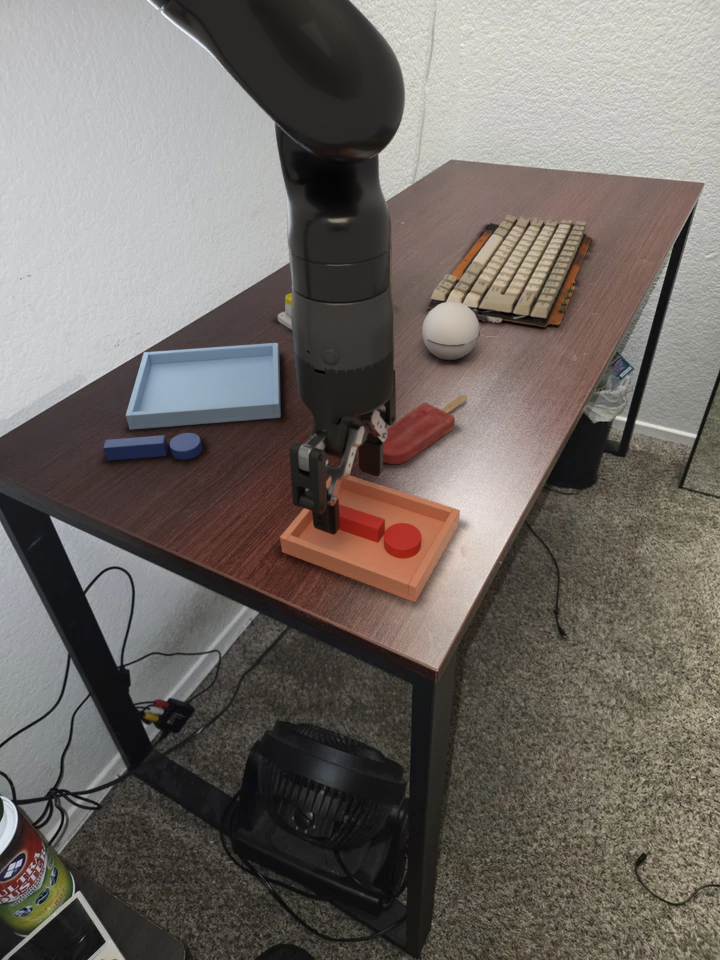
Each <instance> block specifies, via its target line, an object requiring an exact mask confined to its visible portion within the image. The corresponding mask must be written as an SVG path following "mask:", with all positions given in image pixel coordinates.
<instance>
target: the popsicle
mask: <svg viewBox="0 0 720 960" xmlns="http://www.w3.org/2000/svg"><path fill="white" fill-rule="evenodd" d="M467 400H468V395H466V394H460V395H459V396H458V397H456V398H455V399H453V400H451V402H449V403H448V404H447V405H444V407H443V408H441V409H440V408H438V407H436V406H434V405H432V404H431V403H427V402H422V403H421V404H419V405H418V406H417V407H415V408H414V409H412V410H411V411H410V412H409V413H408V414H406V415H405V416H403V417H402V418H401V419H400V420H398V421H397V422H394V424H393V425H392V426H390V427H388V428H386V429H387V431H388V433H387V438H386V440H385V441H384V442H383V464H388V465H401V464H404V463H407V462H408V461H410V460H411V459H412V458H414V457H416V456H418V454H420V453H421V452H423V451H424V450H425V449H427V448H428V447H430V446H431V445H433V444H434V443H436V442H437V441H439V440H440V439H441V438H443V437H444V436H446V435H447V434H448V433H450V432H451V431H453V430H454V429H455V421H456V417H455V416H454V415H453V414H451V412H452V411H454V410H455V409H456V408H457V407H459V406H460V405H462V404H463V403H464V402H466V401H467Z"/></svg>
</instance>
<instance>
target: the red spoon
mask: <svg viewBox="0 0 720 960" xmlns="http://www.w3.org/2000/svg"><path fill="white" fill-rule="evenodd" d="M339 515H340V529H339V530H342V531H345V532H348V533H351V534H353V535H356V536H359V537H362V538H365V539H368V540H371V541H374V542H377V543H378V542H379V541H380V539H381V538H382V536H383V535H384V548H385V550H386V551H387V553H388V554H390V555H391V556H393V557H396V558H402V559H403V558H410V557H413V556H414V555H416V554H417V553H418V552H419V551H420V548H421V533H420V531H419V530H418V528H416V527H415V526H413V525H411V524H408V523H397V524H394V525H391V526H390V527H388V528H387V529H386V531H385V519H383V518H380V517H377V516H374V515H371V514H368V513H364V512H361V511H358V510H355V509H352V508H349V507H346V506H343V505H340V504H339Z"/></svg>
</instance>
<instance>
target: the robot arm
mask: <svg viewBox="0 0 720 960" xmlns="http://www.w3.org/2000/svg"><path fill="white" fill-rule="evenodd" d="M146 1H147V2H148V3H149V4H150V5H151V6H152V7H154V8H155V9H156V10H157V11H159V10H160V14H161V15H163V17H165V19H167V20H168V21H169V22H170V23H172V24H173V26H175V27H176V28H178V29H179V30H180V31H181V32H183V33H185V35H187V36H188V37H190V38H191V39H192V40H193V41H194V42H196V43H197V44H198V45H199V46H200V47H202V48H203V49H204V50H205V51H207V52H208V53H209V54H210V55H211V56H212V58H214V60H215V61H217V63H219V65H220V66H221V67H222V68H223V69H224V71H225V72H226V73H227V74H228V75H229V76H230V77H231V78H232V79H233V81H235V82H236V84H237V85H238V86H239V87H240V88H241V89H242V90H243V91H244V92H245V93H246V94H247V95H248V97H250V98H251V99H252V100H253V102H254V103H255V104H256V105H257V106H258V107H259V108H260V109H261V110H262V111H263V112H264V113H265V114H266V115H267V117H269V118H270V119H271V120H272V124H273V130H274V137H275V143H276V148H277V155H278V161H279V166H280V172H281V178H282V182H283V188H284V194H285V201H286V202H285V203H286V221H287V222H286V225H287V227H286V229H287V233H286V234H287V247H288V259H289V268H290V269H289V270H290V281H291V282H290V283H291V293H292V301H291V322H292V330H291V331H292V341H293V351H294V362H295V372H296V384H297V393H298V395H299V396H298V397H299V399H300V400H301V401H302V403H304V405H305V406H306V407H307V409H308V410H309V411H310V413H311V414H312V416H313V421H312V428H311V435H310V436H311V437H310V438H309V439H308V440H307V441H306V442H305V443H302V442H298V441H293V442H292V444H291V445H290V447H289V466H290V478H291V479H290V480H291V492H292V493H291V495H292V504H293V506H295V507H298V508H303V509H304V508H305V509H308V510H311V511H312V515H313V526H314V527H315V528H316V529H319V530H321V531H324V532H327V533H330V534H333V535H334V534H336V533H337V531H338V530H339V529H340V515H339V499H338V495H339V491H340V487H341V484H342V481H343V479H346V478H348V477H349V475H350V476H351V472H352V468H353V464H354V461H355V456H356V455H357V454H356V453H357V451H358V469H359V470H360V471H361V473H364V474H367V475H370V476H374V477H379V476H380V475H381V474H382V472H383V471H384V462H383V442H384V441H385V440H386V438H387V433H388V431H387V429H388V428H387V427H388V426H390V427H391V426H393V425H394V424H395V423H396V420H397V400H396V398H397V395H396V394H397V393H396V370H395V369H394V365H395V364H394V363H395V362H394V361H395V359H394V358H395V357H394V356H395V355H394V354H395V306H394V297H393V290H392V262H393V261H392V260H393V259H392V257H393V255H392V253H393V251H392V250H393V248H392V247H393V245H392V243H393V241H392V240H393V239H392V235H393V234H392V220H391V213H390V209H389V206H388V203H387V201H386V198H385V195H384V193H383V190H382V186H381V179H380V160H379V159H380V158H379V154H381V153H382V152H383V151H385V149H386V148H387V147H388V145H389V144H390V143H391V142H392V141H393V139H394V137H395V136H396V135H397V132H398V131H399V128H400V126H401V123H402V120H403V116H404V111H405V104H406V89H405V88H406V86H405V80H404V79H405V78H404V75H403V70H402V68H401V65H400V62H399V60H398V57H397V55H396V53H395V51H394V50H393V48H392V47H391V45H390V43H389V42H388V41H387V39H386V38H385V37H384V36H383V34H382V33H381V32H380V31H379V30H378V29H377V27H376V26H375V25H374V24H373V23H372V22H371V21H370V20H369V19H368V18H367V16H365V14H363V12H361V11H360V10H359V8H358V7H357V6H356V5H355V4H354V3H352V1H351V0H146ZM381 407H384V408H385V409H382V408H381ZM326 455H327V456H329V457H331V458H335V459H338V460H341V461H340V465H339V466H336V465H333V464H330V463H329V459H327V458H326ZM327 476H329V477H330V476H331V483H330V486H329V489H326V481H327Z"/></svg>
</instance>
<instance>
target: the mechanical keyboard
mask: <svg viewBox="0 0 720 960" xmlns="http://www.w3.org/2000/svg"><path fill="white" fill-rule="evenodd" d="M586 230H587V221H582V220H577V221H575V223H573V220H572V219H562V220H561V221H560V223H559V221H558V220H557V219H551V218H549V219H548V220H547V221H546V222H545V220H544V219H541V218H538V217H537V218H536V217H535V218H533V220H532V221H531V218H530V217H527V216H523V215H521V216H519V218H518V217H517V216H514V215H512V214H510V213H509V214H506V215H505V217H504V218H503V220H502V221H501V222H500V224H495V223H493V222H490V223H489V224H487V225H486V226H485V229H484V231H481V233H480V236H479V237H478V238H477V240H476V242H475V243H474V244H473V246H472V247H471V248H470V249H469V250H468V252H467V254H466V255H465V256H464V258H463V259H462V260H460V262H459V263H458V265H457V266H456V268H455V269H454V270H453V271H452V273H451V274H450V273H445V275H444V276H443V279H442V280H441V281H440V282H439V283H438V285H437V287H435V288H434V289H433V292H432V294H431V297H430V298H429V300H431V301H430V303H429V304H428V305H427V306H426V309H428V310H432V309H433V308H435V307H436V306H437V305H439V304H441V303H445V302H459V303H462V304H464V305H466V306H468V307H469V308H470V309H471V310H472V311H473V312H474V313H475V315H476V317H477V319H478V321H482V322H483V323H486V322H492V324H500V323H502V321H506V322H512V323H517V324H522V325H523V324H524V325H529V326H535V327H542V328H547V327H548V325H553V326H559V325H561V322H562V320H563V318H564V316H565V313H566V311H567V308H568V306H569V303H570V300H571V298H572V296H573V294H574V291H575V288H576V286H575V284H576V277H577V275H578V273H579V271H580V269H581V266H582V263H583V262H584V259H585V258H586V256H587V253H588V250H589V249H590V245H591V244H592V241H593V238H592V237H590V236H587V234H586Z"/></svg>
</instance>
